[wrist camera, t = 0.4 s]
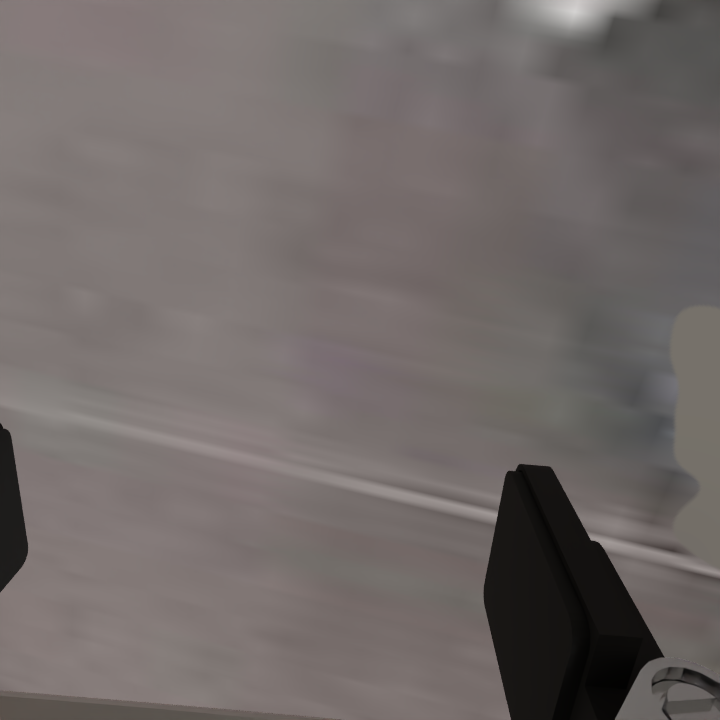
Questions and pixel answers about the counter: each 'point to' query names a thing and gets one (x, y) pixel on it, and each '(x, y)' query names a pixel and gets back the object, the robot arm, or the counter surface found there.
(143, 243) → the counter surface
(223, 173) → the counter surface
